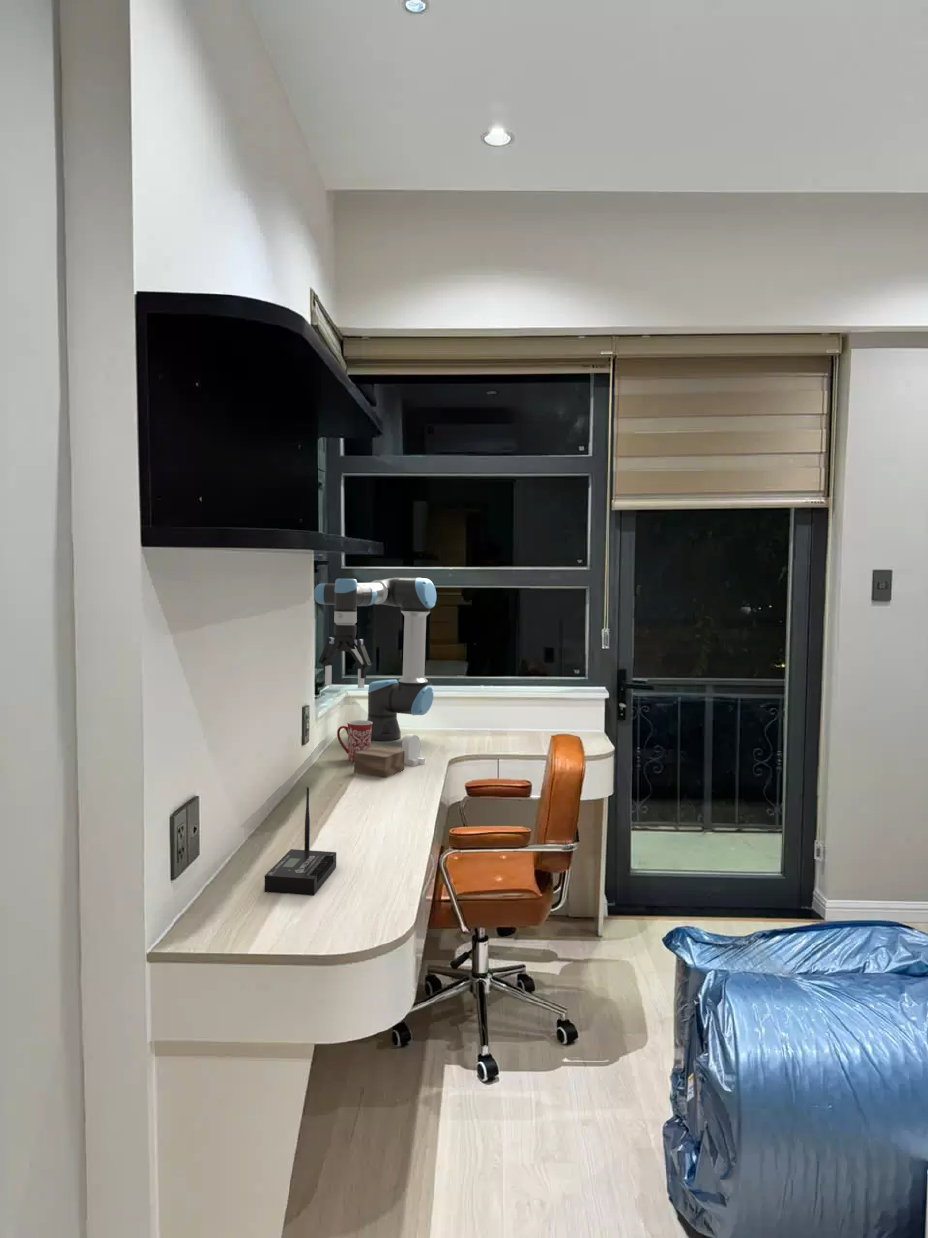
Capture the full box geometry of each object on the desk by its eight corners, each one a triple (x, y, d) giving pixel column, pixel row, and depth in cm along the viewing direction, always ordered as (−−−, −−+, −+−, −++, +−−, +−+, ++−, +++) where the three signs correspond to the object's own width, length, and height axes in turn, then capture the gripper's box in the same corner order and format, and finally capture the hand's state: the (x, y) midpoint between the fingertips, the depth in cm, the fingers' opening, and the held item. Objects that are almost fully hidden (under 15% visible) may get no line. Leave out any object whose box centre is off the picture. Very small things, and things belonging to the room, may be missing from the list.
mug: (375, 758, 283) (376, 720, 282) (367, 763, 274) (368, 725, 273) (341, 755, 285) (342, 718, 284) (332, 761, 276) (333, 723, 276)
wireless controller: (322, 898, 159) (323, 814, 159) (256, 893, 161) (256, 810, 160) (348, 863, 179) (349, 788, 178) (289, 859, 181) (290, 785, 180)
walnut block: (374, 766, 271) (374, 746, 271) (404, 771, 266) (404, 750, 265) (353, 773, 260) (354, 752, 260) (384, 778, 255) (385, 757, 255)
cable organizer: (413, 766, 272) (414, 737, 272) (395, 761, 279) (396, 733, 279) (425, 764, 276) (426, 735, 275) (406, 759, 283) (407, 731, 282)
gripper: (309, 622, 271) (308, 684, 272) (369, 626, 259) (368, 690, 260) (322, 621, 277) (321, 682, 279) (382, 625, 266) (381, 688, 267)
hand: (344, 686), depth 269 cm, fingers open, 13 cm apart
